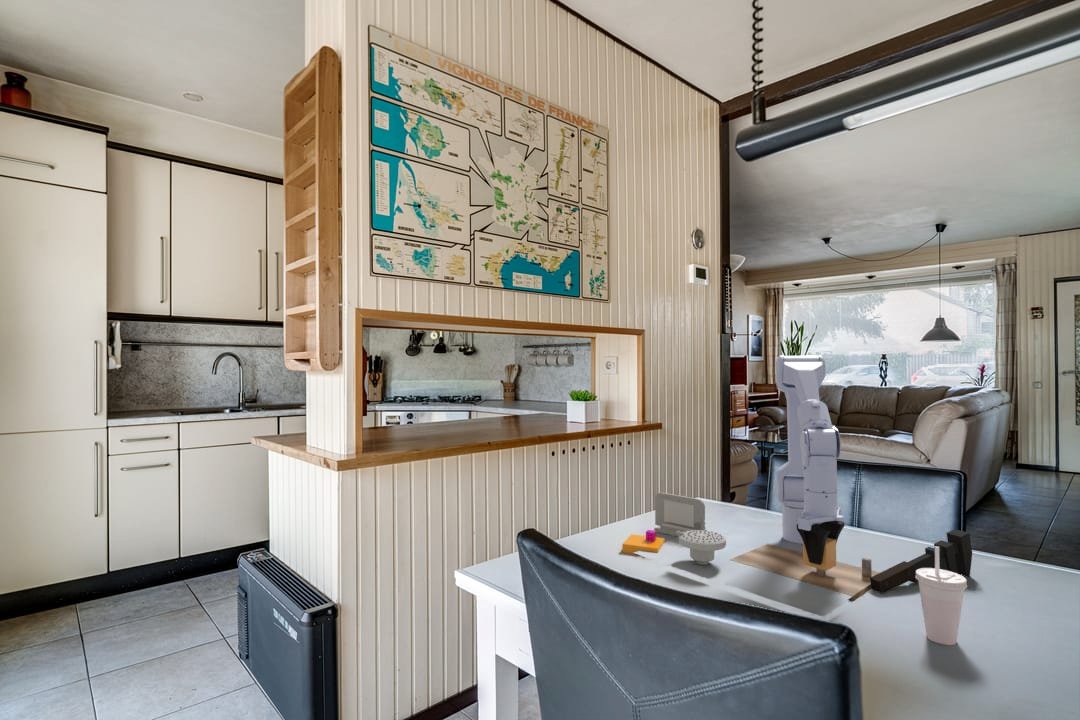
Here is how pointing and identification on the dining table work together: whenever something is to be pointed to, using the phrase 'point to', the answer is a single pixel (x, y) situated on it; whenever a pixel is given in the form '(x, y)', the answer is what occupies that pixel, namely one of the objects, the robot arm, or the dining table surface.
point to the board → (811, 570)
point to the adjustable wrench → (929, 562)
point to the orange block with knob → (643, 543)
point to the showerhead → (702, 544)
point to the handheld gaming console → (678, 514)
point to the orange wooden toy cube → (828, 556)
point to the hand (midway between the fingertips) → (820, 560)
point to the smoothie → (941, 601)
